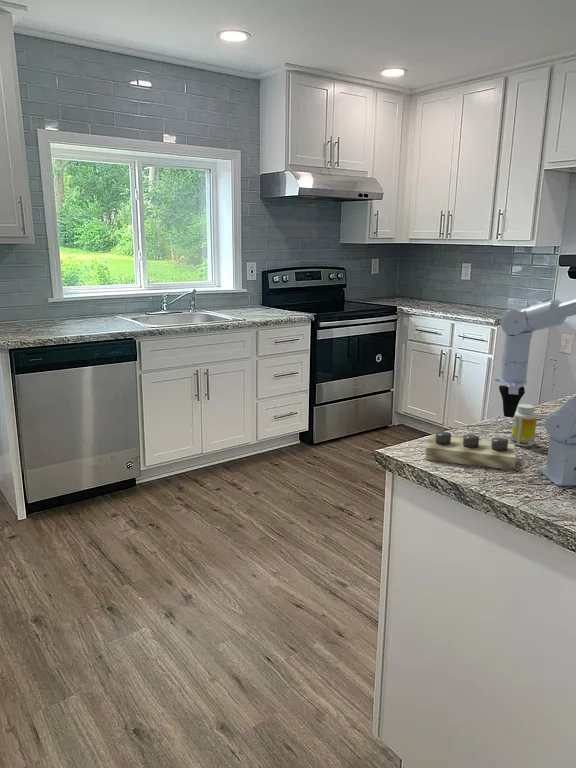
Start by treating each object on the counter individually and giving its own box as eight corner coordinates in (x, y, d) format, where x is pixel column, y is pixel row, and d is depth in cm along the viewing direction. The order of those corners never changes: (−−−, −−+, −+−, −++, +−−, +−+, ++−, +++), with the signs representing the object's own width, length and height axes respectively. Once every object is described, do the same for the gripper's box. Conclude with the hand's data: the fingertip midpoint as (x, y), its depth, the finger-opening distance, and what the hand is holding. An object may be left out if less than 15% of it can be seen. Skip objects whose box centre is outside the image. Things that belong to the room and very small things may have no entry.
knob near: (505, 458, 139) (508, 438, 137) (506, 464, 135) (508, 443, 134) (490, 457, 140) (492, 436, 138) (490, 462, 136) (492, 441, 135)
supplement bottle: (537, 444, 149) (542, 406, 147) (526, 448, 146) (530, 410, 143) (517, 438, 153) (521, 401, 151) (506, 443, 150) (510, 405, 148)
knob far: (450, 452, 143) (451, 432, 141) (449, 457, 139) (450, 436, 138) (435, 450, 144) (436, 430, 143) (433, 455, 140) (435, 435, 139)
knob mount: (512, 455, 141) (514, 443, 140) (514, 469, 132) (515, 457, 131) (429, 446, 147) (430, 435, 147) (425, 459, 138) (426, 447, 137)
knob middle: (477, 455, 141) (479, 435, 139) (477, 460, 137) (479, 439, 136) (462, 453, 142) (463, 433, 141) (461, 458, 138) (463, 438, 137)
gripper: (496, 353, 142) (490, 406, 145) (497, 365, 129) (491, 423, 132) (526, 356, 140) (520, 409, 143) (531, 368, 126) (524, 426, 130)
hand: (508, 416), depth 137 cm, fingers closed
